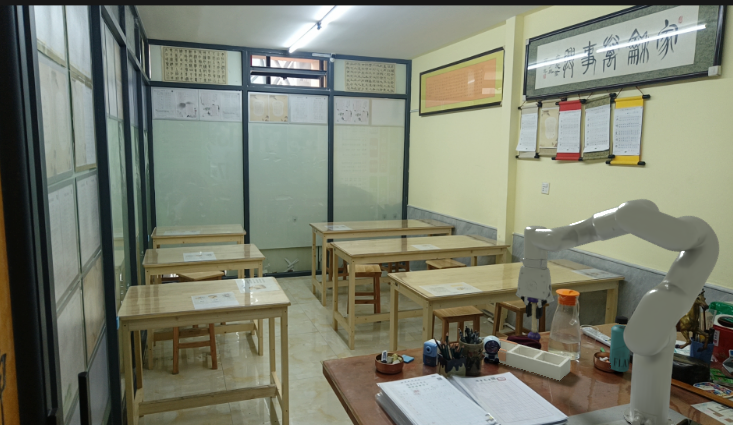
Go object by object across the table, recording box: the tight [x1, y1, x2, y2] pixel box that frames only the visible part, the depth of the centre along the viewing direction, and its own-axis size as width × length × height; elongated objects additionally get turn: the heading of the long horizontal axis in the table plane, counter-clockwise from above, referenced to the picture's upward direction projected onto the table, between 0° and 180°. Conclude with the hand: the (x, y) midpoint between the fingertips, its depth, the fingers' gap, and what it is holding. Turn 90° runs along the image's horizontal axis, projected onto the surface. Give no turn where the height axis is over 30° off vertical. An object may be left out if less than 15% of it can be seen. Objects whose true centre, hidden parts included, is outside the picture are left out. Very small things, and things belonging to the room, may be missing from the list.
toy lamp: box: [527, 297, 542, 341], centre depth 160 cm, size 5×5×17 cm
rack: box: [498, 338, 572, 382], centre depth 173 cm, size 11×28×5 cm, turn 48°
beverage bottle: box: [608, 315, 631, 373], centre depth 167 cm, size 6×7×20 cm
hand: (534, 316), depth 160 cm, fingers closed on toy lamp, 2 cm apart
